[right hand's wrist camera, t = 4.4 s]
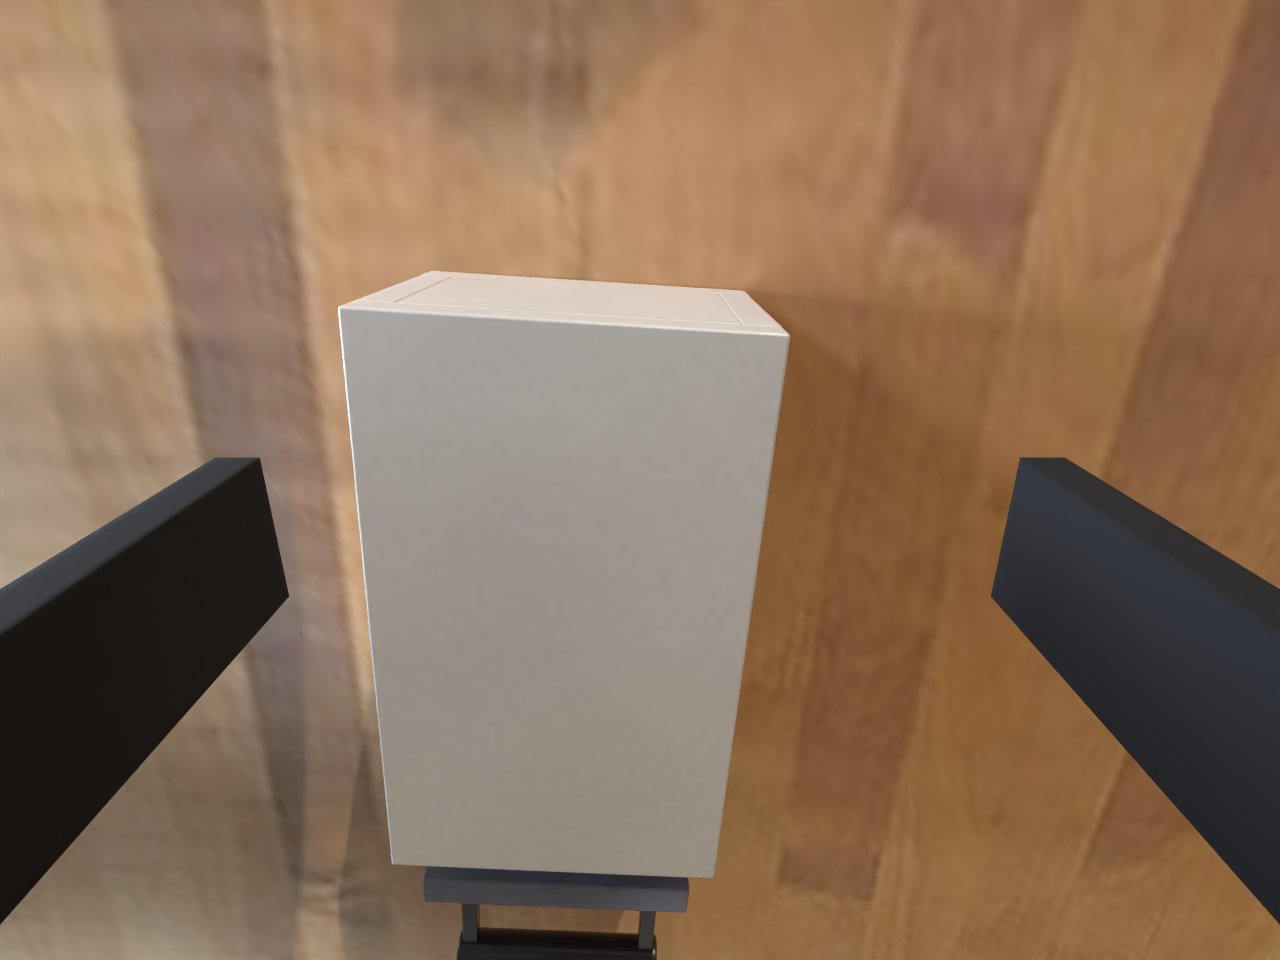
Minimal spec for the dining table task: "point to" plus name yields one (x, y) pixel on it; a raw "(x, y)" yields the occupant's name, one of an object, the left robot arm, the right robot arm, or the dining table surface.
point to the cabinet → (559, 561)
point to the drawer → (553, 953)
